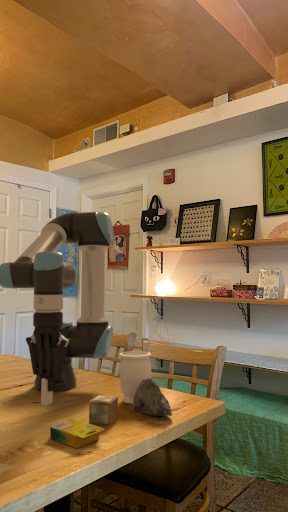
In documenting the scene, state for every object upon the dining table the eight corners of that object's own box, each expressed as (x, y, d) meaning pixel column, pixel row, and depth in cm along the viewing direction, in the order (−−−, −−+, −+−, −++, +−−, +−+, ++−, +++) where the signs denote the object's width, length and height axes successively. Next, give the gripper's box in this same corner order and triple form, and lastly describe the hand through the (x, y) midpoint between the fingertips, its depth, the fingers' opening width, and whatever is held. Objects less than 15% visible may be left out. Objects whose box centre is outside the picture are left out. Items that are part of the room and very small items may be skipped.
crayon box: (49, 438, 94) (81, 451, 87) (49, 426, 95) (81, 437, 87) (73, 430, 100) (105, 441, 92) (73, 418, 100) (105, 428, 93)
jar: (148, 406, 119) (147, 356, 121) (115, 404, 121) (115, 355, 123) (154, 397, 130) (153, 351, 131) (123, 395, 132) (123, 350, 133)
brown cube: (88, 424, 104) (88, 400, 104) (97, 417, 110) (97, 394, 110) (110, 426, 102) (110, 402, 103) (117, 419, 108) (117, 396, 109)
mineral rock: (173, 422, 106) (172, 384, 106) (133, 423, 105) (133, 384, 106) (167, 407, 118) (167, 373, 119) (132, 408, 118) (132, 374, 119)
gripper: (18, 311, 102) (17, 404, 100) (59, 312, 96) (58, 411, 94) (38, 309, 108) (36, 396, 107) (77, 310, 103) (76, 402, 101)
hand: (46, 403), depth 100 cm, fingers closed
